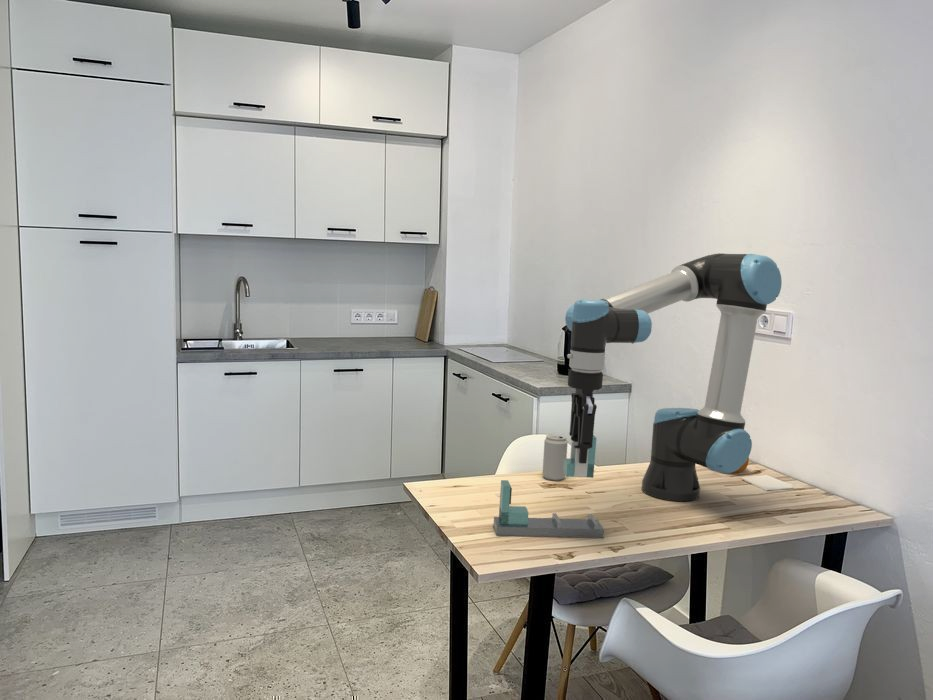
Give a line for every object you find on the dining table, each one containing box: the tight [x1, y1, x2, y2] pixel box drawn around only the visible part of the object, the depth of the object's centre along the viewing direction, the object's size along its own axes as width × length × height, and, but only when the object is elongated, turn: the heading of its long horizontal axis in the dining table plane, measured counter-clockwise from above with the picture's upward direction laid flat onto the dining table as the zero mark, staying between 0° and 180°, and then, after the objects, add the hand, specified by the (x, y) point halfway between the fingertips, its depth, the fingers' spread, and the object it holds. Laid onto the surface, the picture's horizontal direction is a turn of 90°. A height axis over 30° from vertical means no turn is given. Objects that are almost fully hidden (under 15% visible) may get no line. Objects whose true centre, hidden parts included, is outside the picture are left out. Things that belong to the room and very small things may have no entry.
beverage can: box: [542, 433, 569, 482], centre depth 203 cm, size 6×6×12 cm
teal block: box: [563, 434, 597, 478], centre depth 162 cm, size 6×4×9 cm, turn 94°
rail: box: [492, 479, 605, 539], centre depth 163 cm, size 24×6×11 cm, turn 94°
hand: (577, 473), depth 162 cm, fingers closed on teal block, 4 cm apart
